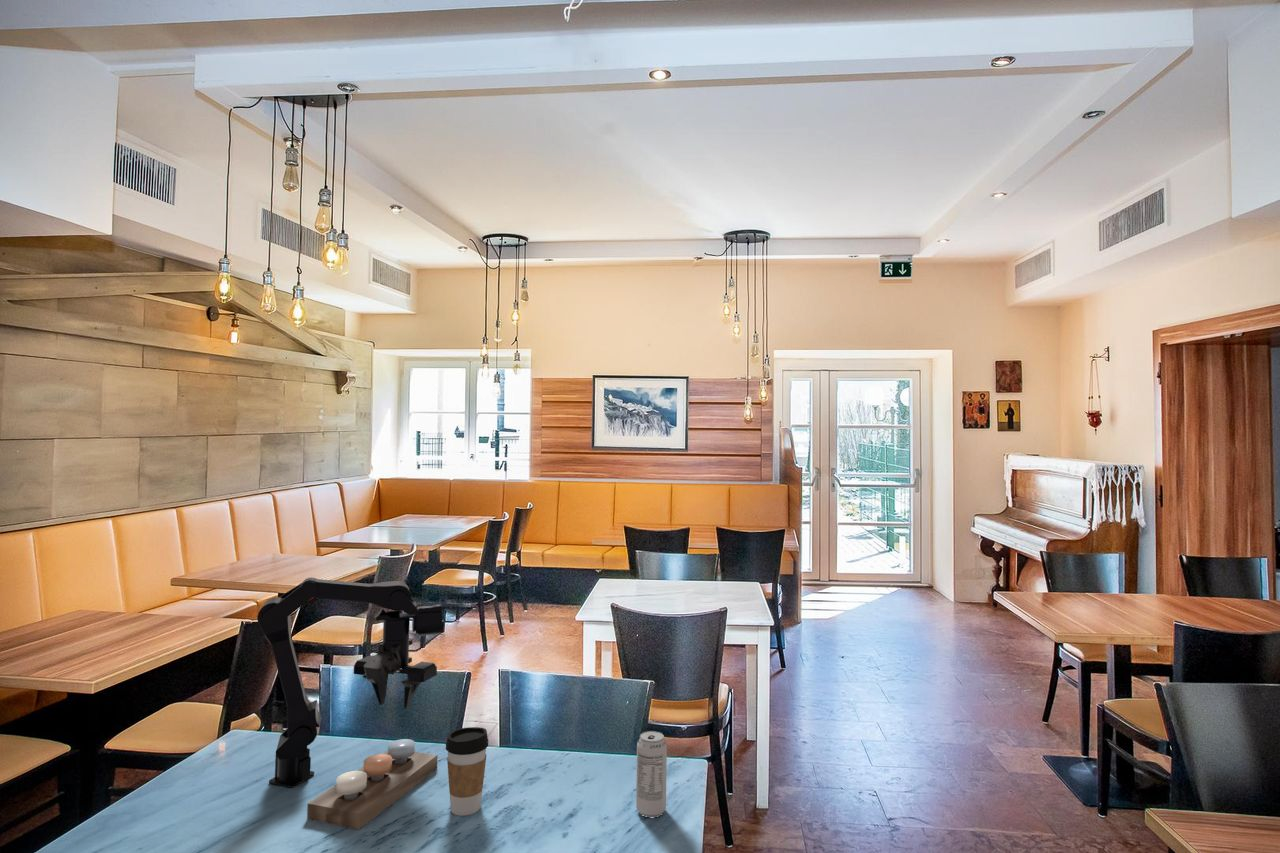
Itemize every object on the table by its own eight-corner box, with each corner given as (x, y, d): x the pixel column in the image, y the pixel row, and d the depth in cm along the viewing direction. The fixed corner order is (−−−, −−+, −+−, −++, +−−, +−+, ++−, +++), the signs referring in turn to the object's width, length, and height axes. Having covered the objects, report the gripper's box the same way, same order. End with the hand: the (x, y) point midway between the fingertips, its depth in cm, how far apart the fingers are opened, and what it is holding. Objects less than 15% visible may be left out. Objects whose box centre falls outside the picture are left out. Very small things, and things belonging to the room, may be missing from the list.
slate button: (381, 771, 148) (382, 747, 148) (397, 760, 153) (398, 737, 154) (403, 774, 147) (404, 751, 147) (419, 763, 152) (419, 740, 152)
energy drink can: (669, 807, 138) (670, 732, 138) (660, 822, 132) (661, 744, 133) (641, 801, 140) (642, 728, 140) (631, 816, 134) (632, 739, 135)
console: (307, 819, 131) (307, 803, 132) (391, 761, 156) (391, 747, 157) (359, 829, 128) (359, 813, 128) (437, 768, 153) (437, 755, 153)
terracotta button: (356, 788, 140) (357, 763, 141) (374, 776, 146) (375, 752, 146) (380, 792, 139) (380, 767, 139) (397, 780, 144) (397, 756, 144)
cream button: (329, 807, 133) (330, 781, 133) (349, 793, 138) (349, 769, 138) (353, 812, 131) (354, 786, 131) (372, 798, 137) (373, 773, 137)
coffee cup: (476, 821, 131) (477, 743, 132) (436, 816, 133) (438, 738, 134) (493, 800, 140) (495, 726, 140) (456, 795, 141) (457, 722, 142)
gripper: (337, 643, 151) (335, 714, 150) (409, 651, 146) (407, 724, 145) (370, 630, 162) (368, 696, 161) (439, 637, 156) (437, 706, 156)
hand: (394, 706), depth 156 cm, fingers open, 6 cm apart
